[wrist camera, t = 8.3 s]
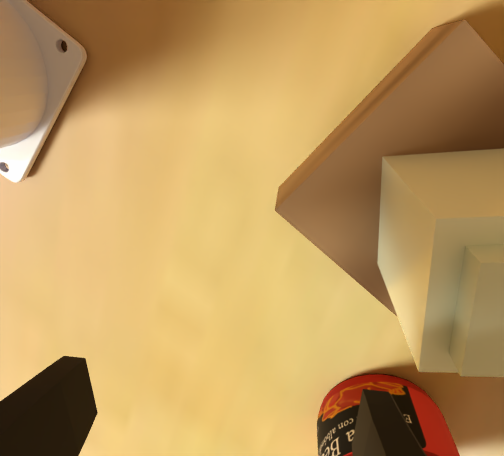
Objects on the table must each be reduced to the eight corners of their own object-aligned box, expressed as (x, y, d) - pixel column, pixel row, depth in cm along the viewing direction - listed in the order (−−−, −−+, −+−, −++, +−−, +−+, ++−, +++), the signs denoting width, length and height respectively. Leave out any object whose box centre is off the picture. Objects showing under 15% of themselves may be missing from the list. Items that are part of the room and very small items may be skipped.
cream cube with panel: (377, 263, 15) (427, 396, 9) (382, 156, 14) (449, 233, 7) (495, 260, 15) (634, 401, 9) (517, 147, 13) (713, 224, 7)
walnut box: (279, 184, 18) (274, 210, 15) (429, 29, 15) (464, 19, 12) (400, 292, 20) (419, 335, 17) (560, 175, 16) (622, 201, 13)
